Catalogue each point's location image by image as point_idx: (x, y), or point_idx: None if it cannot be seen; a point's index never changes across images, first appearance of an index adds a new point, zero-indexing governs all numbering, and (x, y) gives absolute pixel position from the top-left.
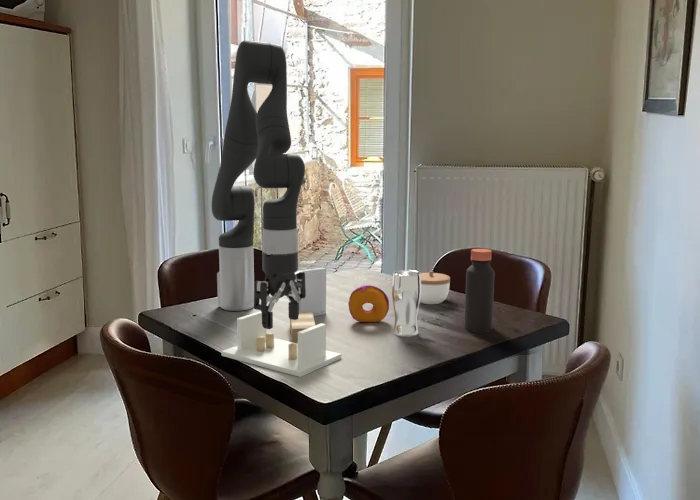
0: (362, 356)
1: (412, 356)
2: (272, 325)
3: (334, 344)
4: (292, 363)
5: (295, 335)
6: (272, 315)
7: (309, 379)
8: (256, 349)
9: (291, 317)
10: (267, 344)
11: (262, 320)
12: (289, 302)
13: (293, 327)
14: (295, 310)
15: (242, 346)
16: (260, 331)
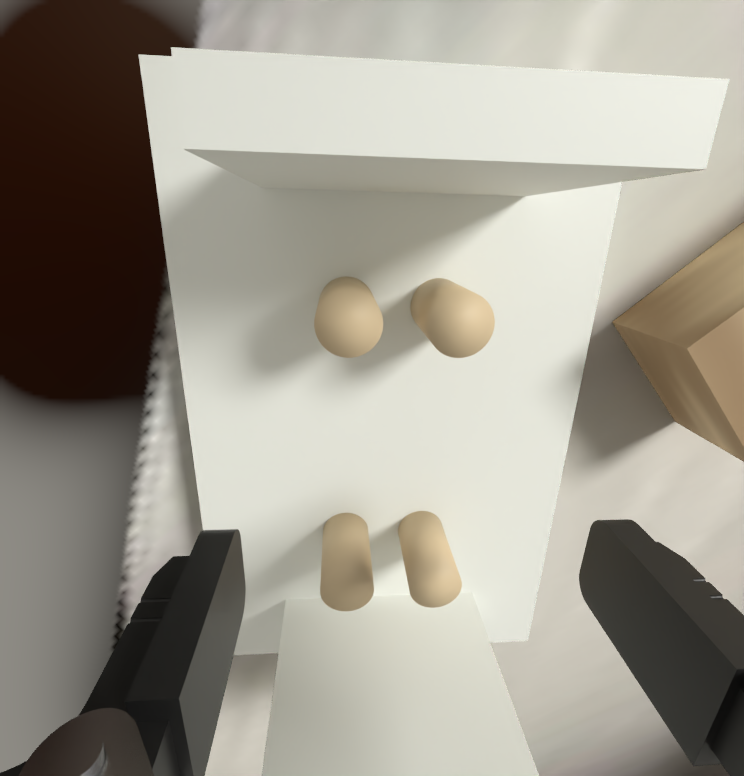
0: (581, 661)
1: (656, 760)
2: (236, 626)
3: (692, 498)
4: (285, 571)
5: (659, 351)
6: (208, 741)
7: (231, 669)
8: (343, 266)
9: (596, 555)
10: (414, 312)
11: (135, 618)
12: (739, 678)
13: (721, 335)
14: (637, 666)
15: (269, 185)
16: (500, 186)
